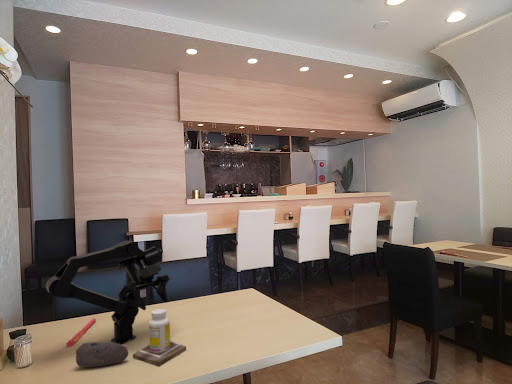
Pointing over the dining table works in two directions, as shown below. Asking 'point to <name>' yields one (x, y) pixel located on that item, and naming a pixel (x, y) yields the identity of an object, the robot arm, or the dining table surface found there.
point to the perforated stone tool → (100, 354)
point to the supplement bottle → (159, 332)
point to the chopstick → (80, 333)
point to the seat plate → (160, 358)
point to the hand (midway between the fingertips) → (156, 305)
